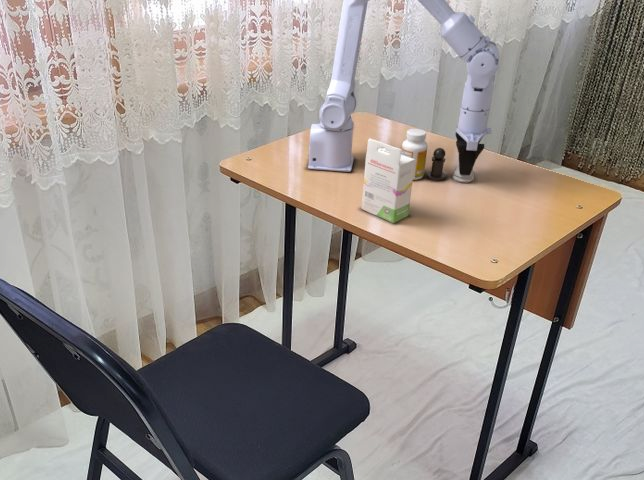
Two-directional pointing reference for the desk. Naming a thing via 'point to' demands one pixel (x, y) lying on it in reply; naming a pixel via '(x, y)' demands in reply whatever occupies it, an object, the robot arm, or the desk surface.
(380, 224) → the desk surface
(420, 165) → the supplement bottle
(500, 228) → the desk surface
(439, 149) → the ebony pawn
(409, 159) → the ink box
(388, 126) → the desk surface
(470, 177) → the rook chess piece
